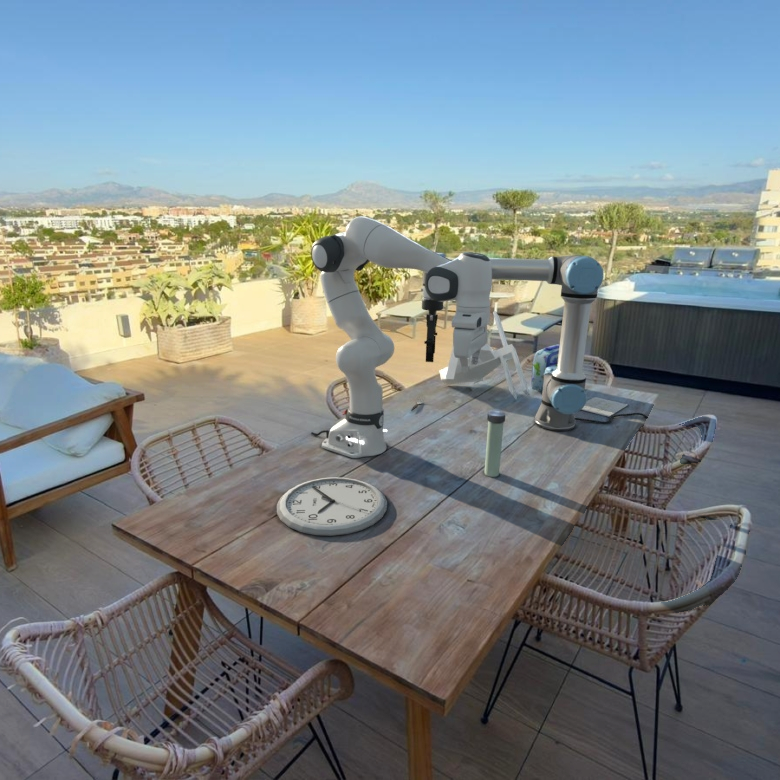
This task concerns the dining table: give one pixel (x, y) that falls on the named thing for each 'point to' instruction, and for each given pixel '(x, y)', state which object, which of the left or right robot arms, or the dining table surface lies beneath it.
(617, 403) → the invitation card
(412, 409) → the fork
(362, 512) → the wall clock
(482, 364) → the white plastic object
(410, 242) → the left robot arm
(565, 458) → the dining table surface
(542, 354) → the lunch box
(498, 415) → the lid
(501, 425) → the jar
